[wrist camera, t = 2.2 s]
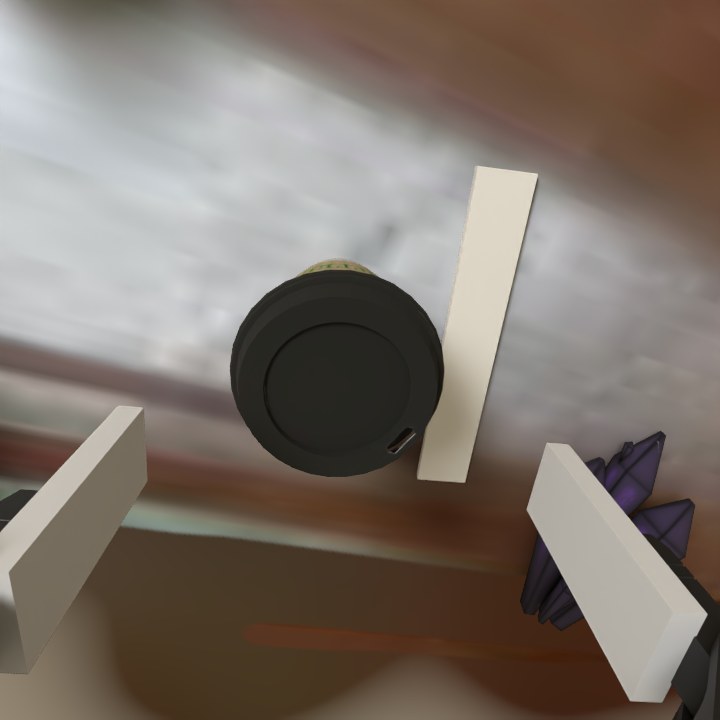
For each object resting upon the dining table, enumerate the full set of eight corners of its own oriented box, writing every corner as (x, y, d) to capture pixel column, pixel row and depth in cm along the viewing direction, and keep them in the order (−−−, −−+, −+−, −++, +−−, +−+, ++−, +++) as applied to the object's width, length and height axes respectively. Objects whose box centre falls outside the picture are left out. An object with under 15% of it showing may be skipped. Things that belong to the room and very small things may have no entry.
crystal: (604, 671, 41) (775, 506, 33) (483, 627, 40) (630, 445, 32) (577, 600, 48) (714, 447, 40) (472, 560, 47) (591, 394, 39)
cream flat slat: (416, 474, 40) (417, 479, 40) (475, 166, 32) (477, 166, 31) (463, 478, 41) (464, 482, 40) (534, 173, 32) (538, 173, 31)
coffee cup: (328, 199, 32) (322, 224, 18) (434, 294, 35) (500, 380, 21) (239, 309, 34) (174, 407, 20) (345, 390, 37) (351, 524, 23)
